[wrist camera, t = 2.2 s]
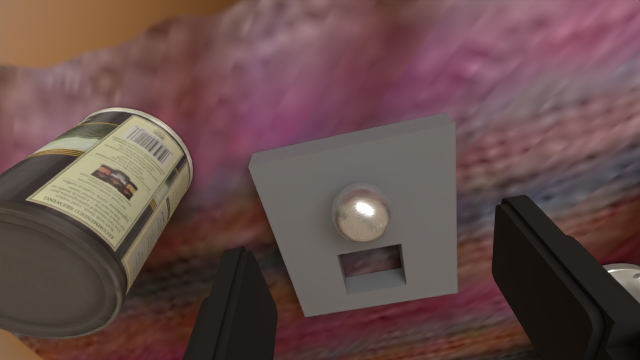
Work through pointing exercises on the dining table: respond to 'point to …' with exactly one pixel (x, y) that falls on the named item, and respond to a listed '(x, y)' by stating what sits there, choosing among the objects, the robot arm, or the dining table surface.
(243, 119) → the dining table surface
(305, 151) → the hole board
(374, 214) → the steel ball
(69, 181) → the coffee can
